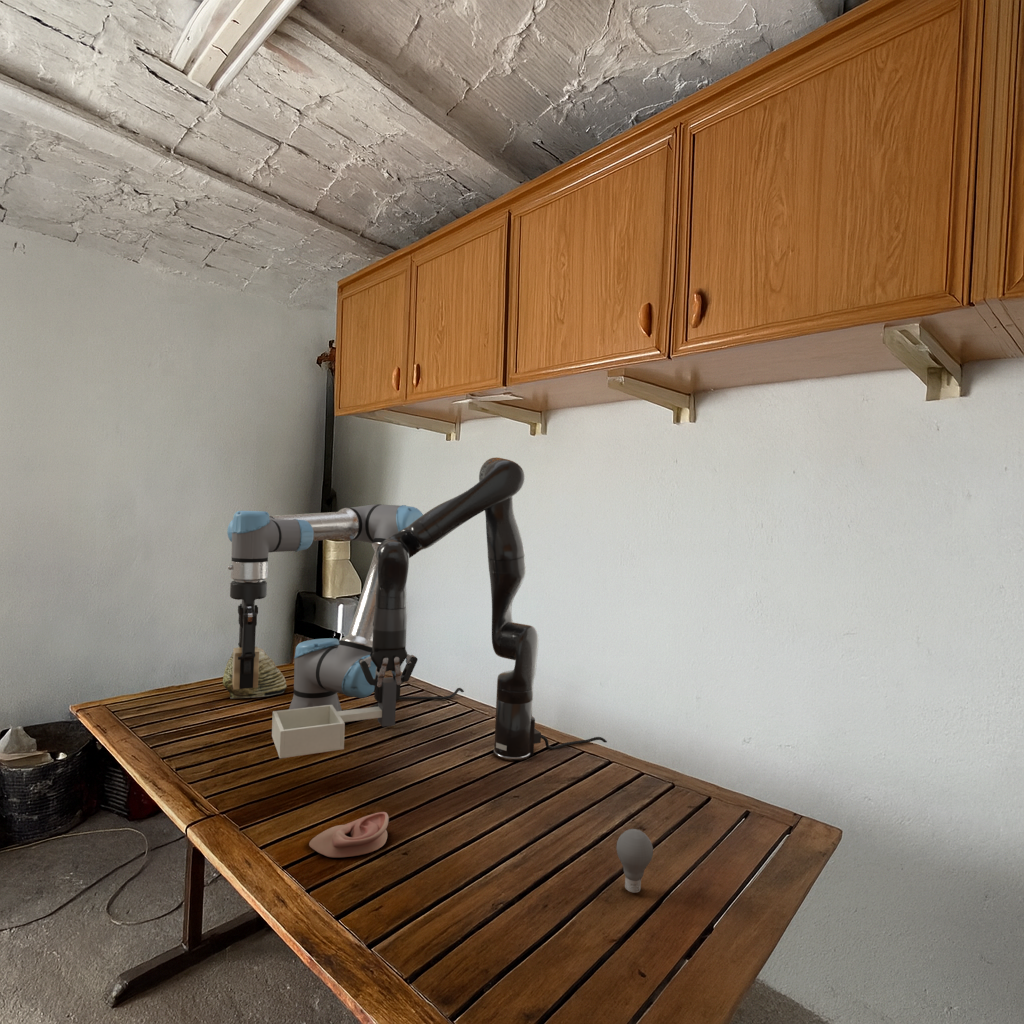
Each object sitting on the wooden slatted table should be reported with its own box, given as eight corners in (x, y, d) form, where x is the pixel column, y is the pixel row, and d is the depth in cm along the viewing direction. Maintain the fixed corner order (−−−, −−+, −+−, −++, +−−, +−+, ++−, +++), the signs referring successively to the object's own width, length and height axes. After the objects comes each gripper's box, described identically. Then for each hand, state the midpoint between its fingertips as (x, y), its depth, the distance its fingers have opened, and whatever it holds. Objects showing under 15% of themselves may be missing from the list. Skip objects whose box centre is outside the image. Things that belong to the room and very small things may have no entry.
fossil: (218, 695, 195) (220, 647, 195) (278, 685, 208) (279, 640, 207) (228, 703, 189) (230, 653, 188) (289, 692, 201) (290, 645, 201)
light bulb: (610, 879, 108) (613, 822, 108) (644, 879, 109) (647, 822, 109) (619, 902, 102) (622, 840, 102) (655, 901, 103) (658, 840, 103)
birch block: (256, 681, 144) (257, 646, 144) (257, 687, 140) (259, 651, 140) (232, 683, 142) (233, 647, 142) (233, 689, 138) (234, 653, 138)
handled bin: (384, 721, 152) (386, 672, 152) (400, 740, 141) (402, 687, 140) (271, 736, 140) (273, 682, 140) (279, 758, 129) (281, 700, 129)
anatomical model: (300, 830, 112) (331, 801, 124) (300, 852, 112) (331, 821, 124) (370, 841, 110) (395, 810, 121) (369, 864, 110) (395, 831, 121)
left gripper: (228, 575, 147) (225, 674, 147) (232, 586, 131) (228, 698, 131) (263, 574, 150) (259, 672, 151) (271, 585, 134) (267, 694, 135)
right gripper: (363, 631, 139) (360, 709, 139) (424, 627, 145) (421, 702, 145) (355, 625, 145) (352, 699, 146) (413, 621, 152) (411, 693, 152)
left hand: (245, 684), depth 141 cm, fingers closed on birch block, 5 cm apart
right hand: (387, 700), depth 146 cm, fingers closed on handled bin, 3 cm apart
